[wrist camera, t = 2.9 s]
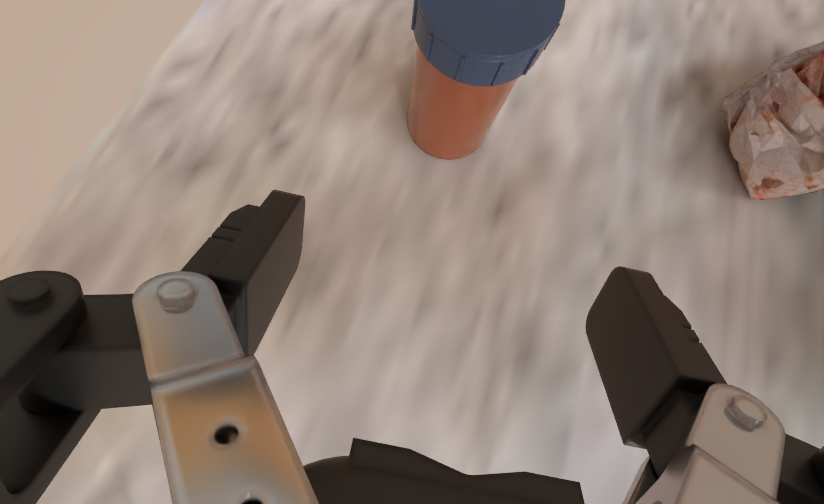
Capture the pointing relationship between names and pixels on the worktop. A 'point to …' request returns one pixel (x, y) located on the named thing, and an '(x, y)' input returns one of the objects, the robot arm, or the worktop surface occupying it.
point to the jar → (450, 111)
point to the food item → (780, 126)
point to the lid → (484, 36)
